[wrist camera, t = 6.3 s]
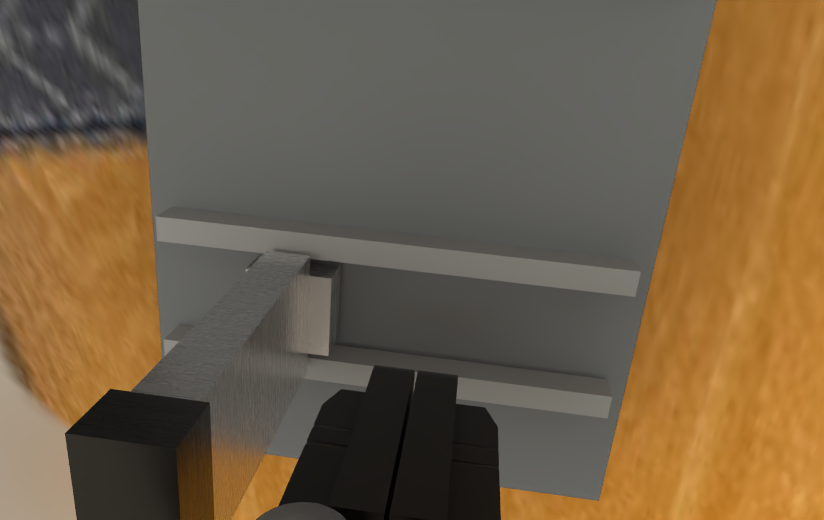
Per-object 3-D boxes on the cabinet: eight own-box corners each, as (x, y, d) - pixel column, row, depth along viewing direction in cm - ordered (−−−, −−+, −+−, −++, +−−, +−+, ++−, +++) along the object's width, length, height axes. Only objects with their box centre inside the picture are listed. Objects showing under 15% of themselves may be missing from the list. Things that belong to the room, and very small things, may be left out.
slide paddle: (259, 230, 15) (40, 430, 8) (341, 239, 15) (200, 452, 8) (260, 347, 16) (70, 619, 9) (336, 357, 16) (209, 643, 9)
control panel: (200, -395, 14) (55, -609, 10) (742, -374, 14) (885, -596, 9) (222, 367, 22) (146, 468, 17) (578, 414, 21) (606, 534, 16)
